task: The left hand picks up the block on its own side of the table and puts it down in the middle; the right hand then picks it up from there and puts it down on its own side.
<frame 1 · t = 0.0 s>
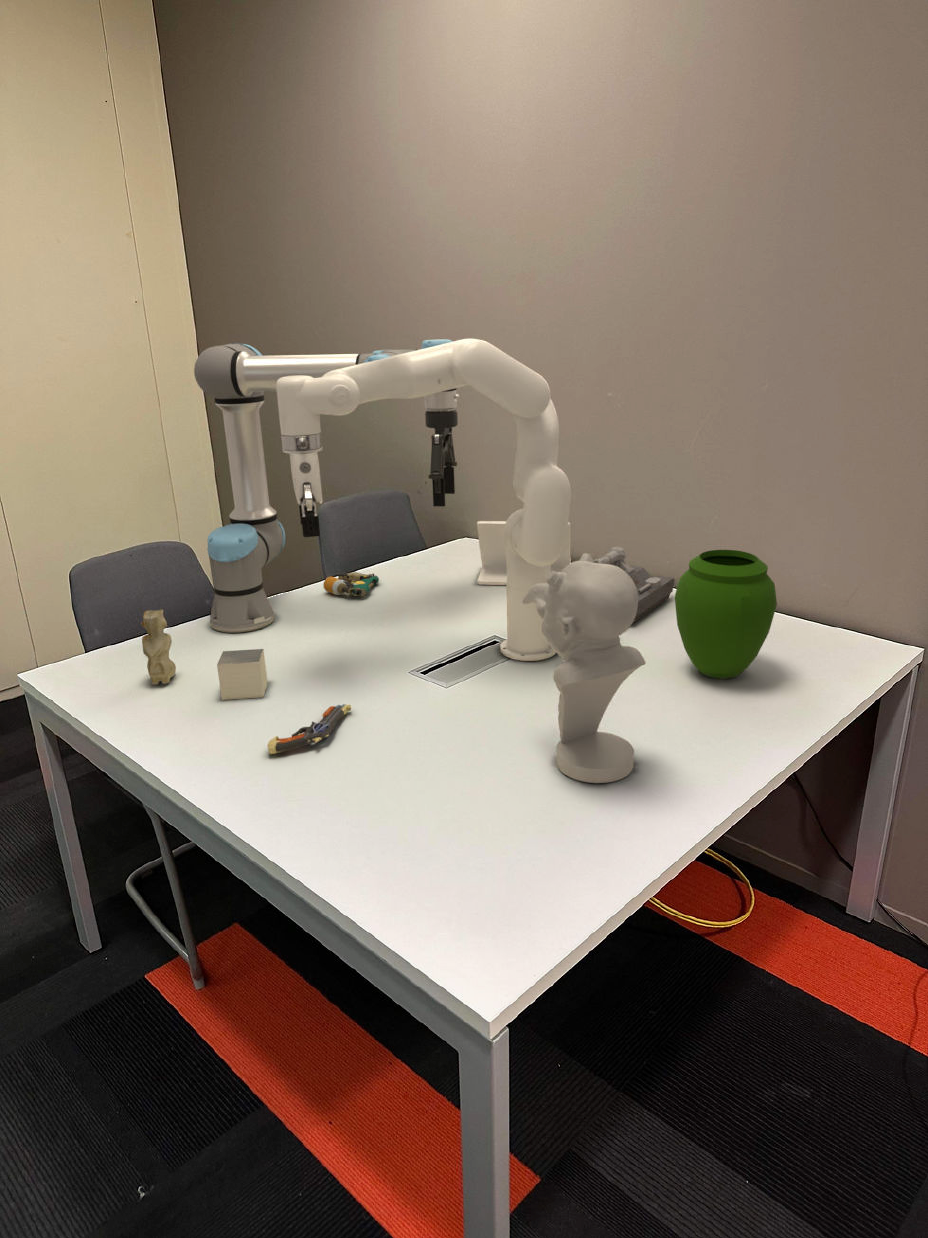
left hand: (444, 499, 205), 28 cm above the table, tool pointing down, fingers open, 13 cm apart
right hand: (310, 530, 169), 31 cm above the table, tool pointing down, fingers open, 9 cm apart
toy: (615, 605, 214), on the table
vase: (718, 672, 175), on the table
toy gun: (311, 733, 155), on the table
sculpture: (163, 680, 179), on the table
spray gun: (354, 589, 232), on the table
block: (245, 691, 173), on the table
tablet stand: (525, 575, 239), on the table
bust sculpture: (574, 758, 144), on the table
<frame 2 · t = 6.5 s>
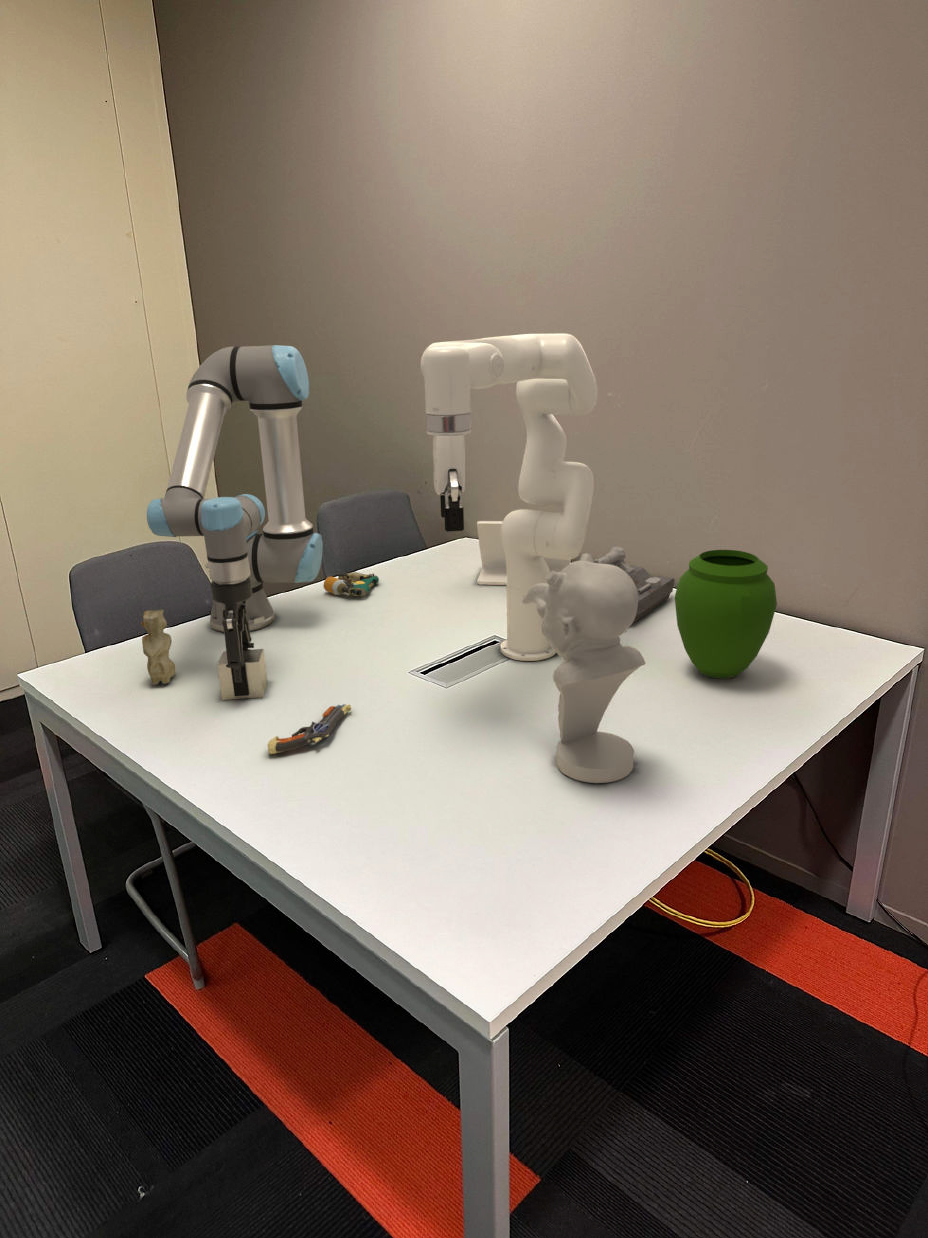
left hand: (244, 686, 172), 1 cm above the table, tool pointing down, fingers closed on block, 7 cm apart
right hand: (452, 523, 149), 37 cm above the table, tool pointing down, fingers open, 9 cm apart
block: (245, 691, 173), on the table, touching left hand
everything else where it was.
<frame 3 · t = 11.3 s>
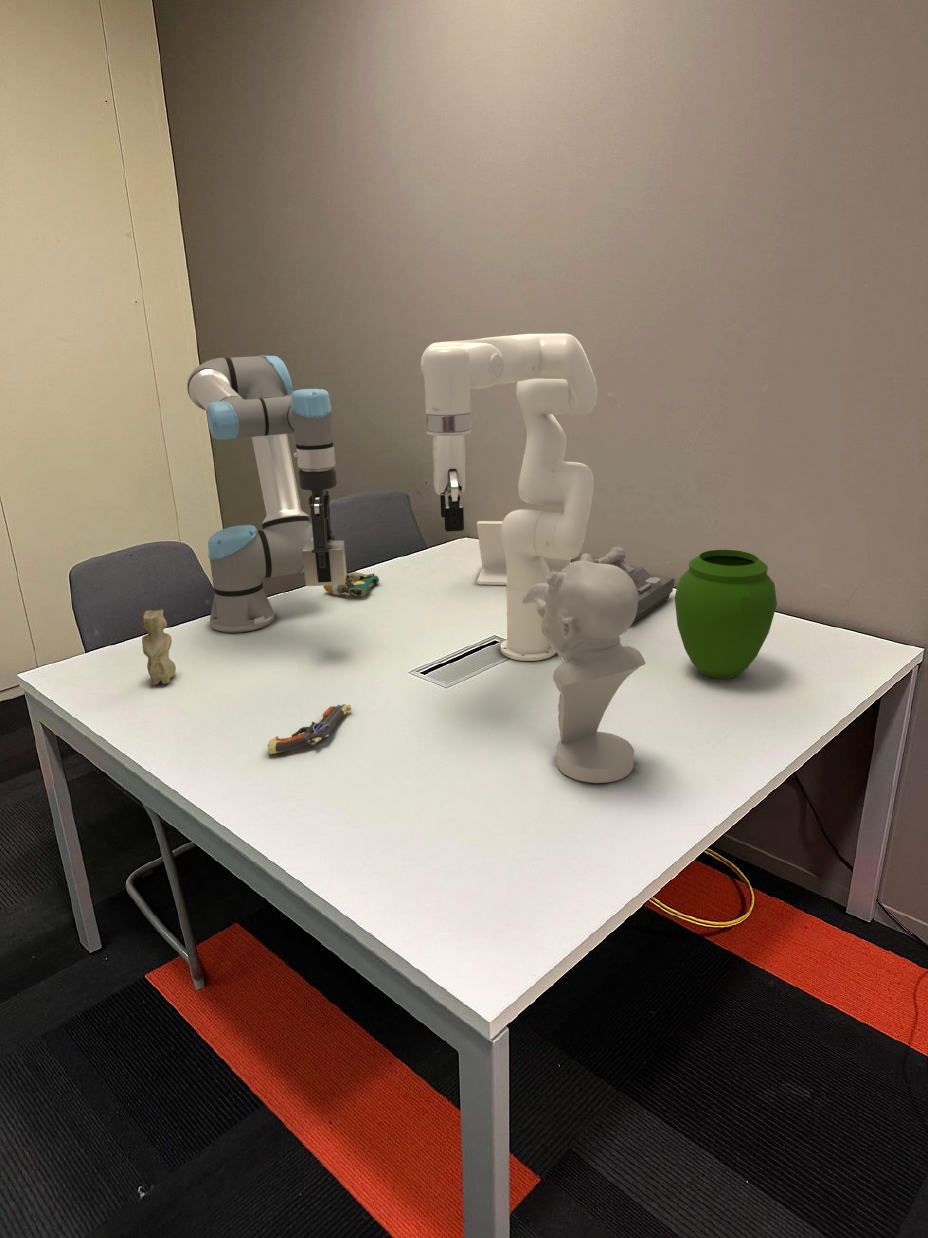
left hand: (326, 575, 181), 19 cm above the table, tool pointing down, fingers closed on block, 7 cm apart
right hand: (452, 523, 149), 37 cm above the table, tool pointing down, fingers open, 9 cm apart
block: (326, 580, 182), point 18 cm above the table, touching left hand
everything else where it was.
when the left hand's fingers open (3 cm above the table, at t = 16.5 s): block drops 1 cm, on the table.
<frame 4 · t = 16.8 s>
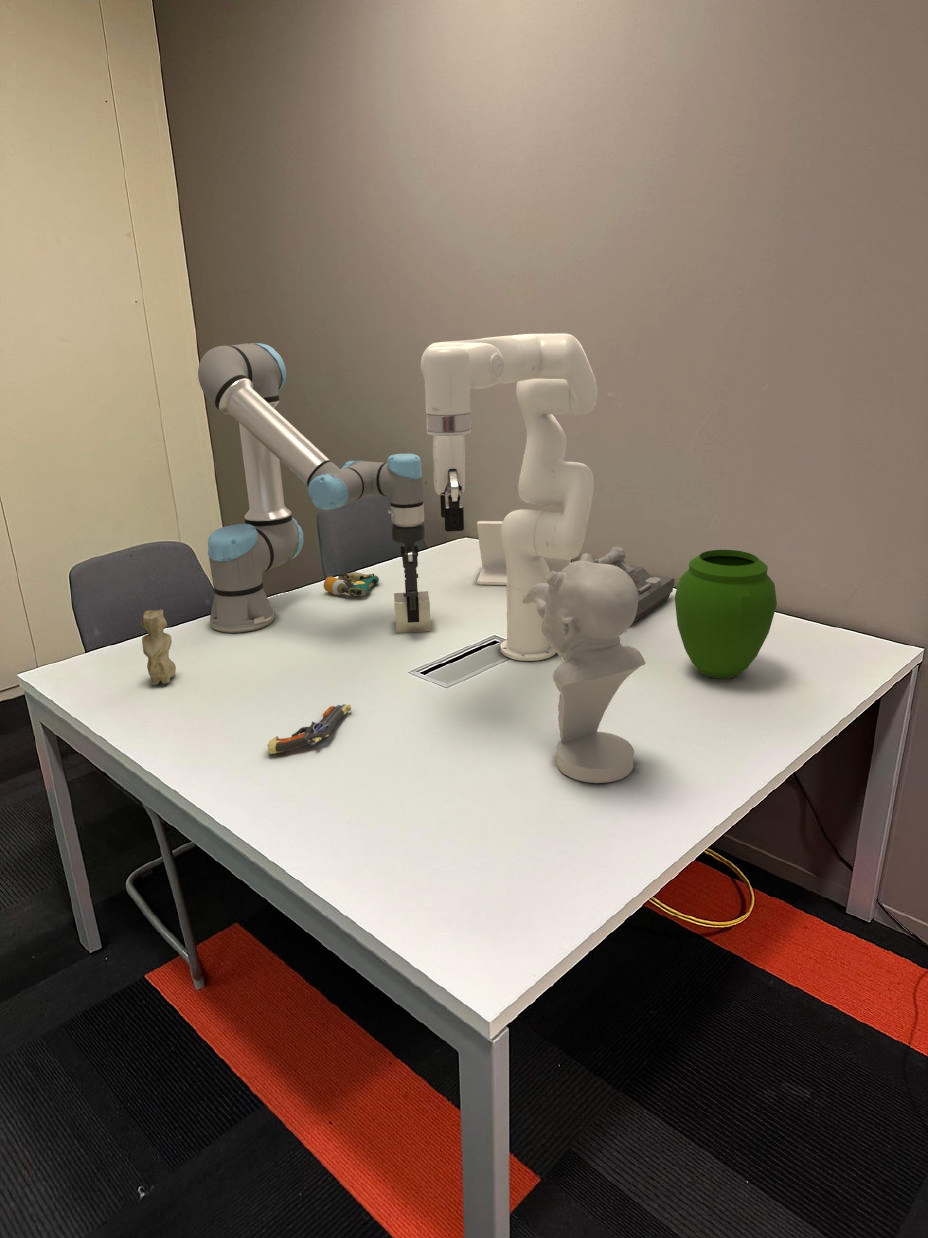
left hand: (412, 613, 203), 4 cm above the table, tool pointing down, fingers open, 11 cm apart
right hand: (452, 523, 149), 37 cm above the table, tool pointing down, fingers open, 9 cm apart
block: (413, 627, 204), on the table
everything else where it was.
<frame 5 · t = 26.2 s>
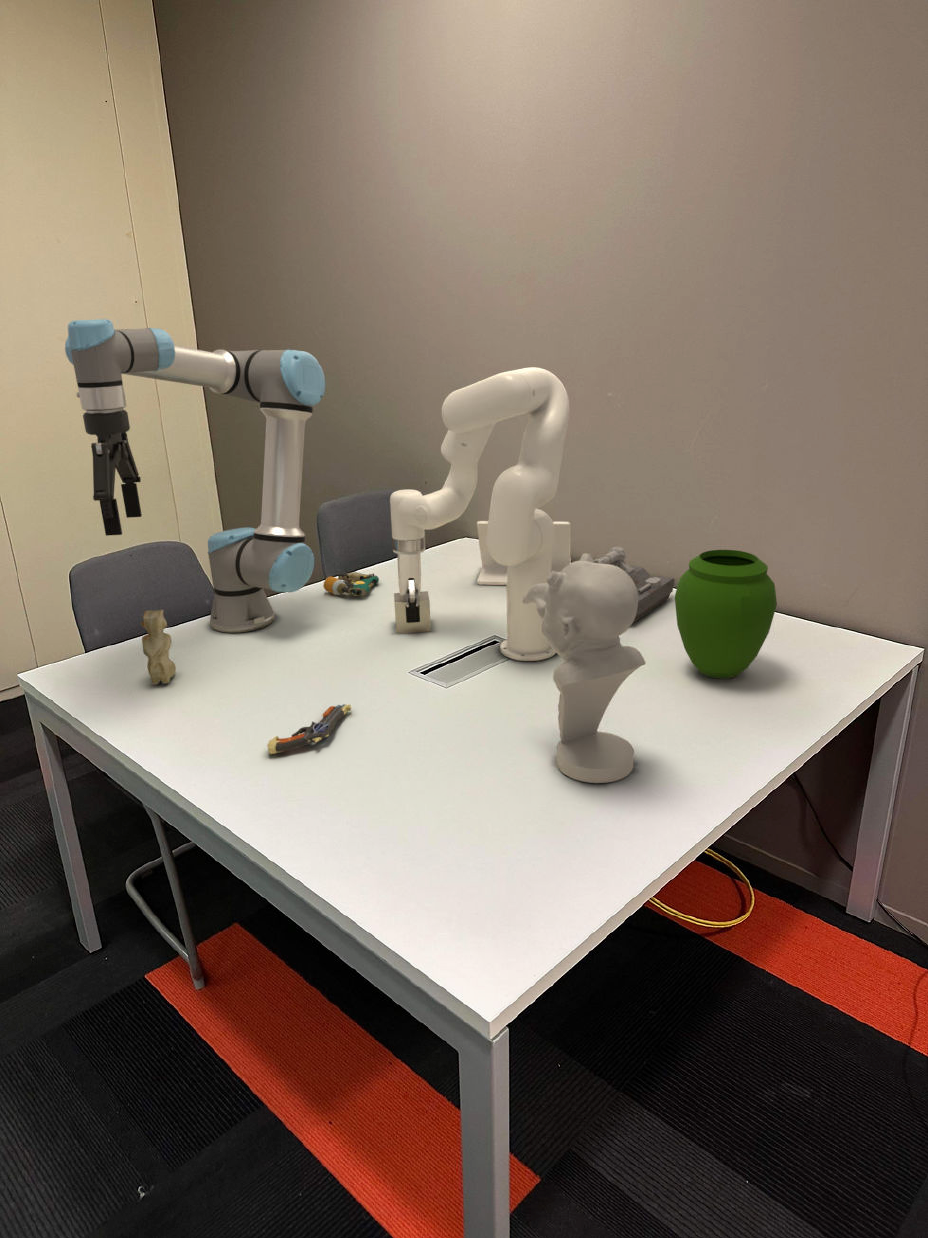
left hand: (124, 525, 161), 35 cm above the table, tool pointing down, fingers open, 13 cm apart
right hand: (412, 615, 203), 3 cm above the table, tool pointing down, fingers closed on block, 6 cm apart
block: (413, 627, 204), on the table, touching right hand
everything else where it was.
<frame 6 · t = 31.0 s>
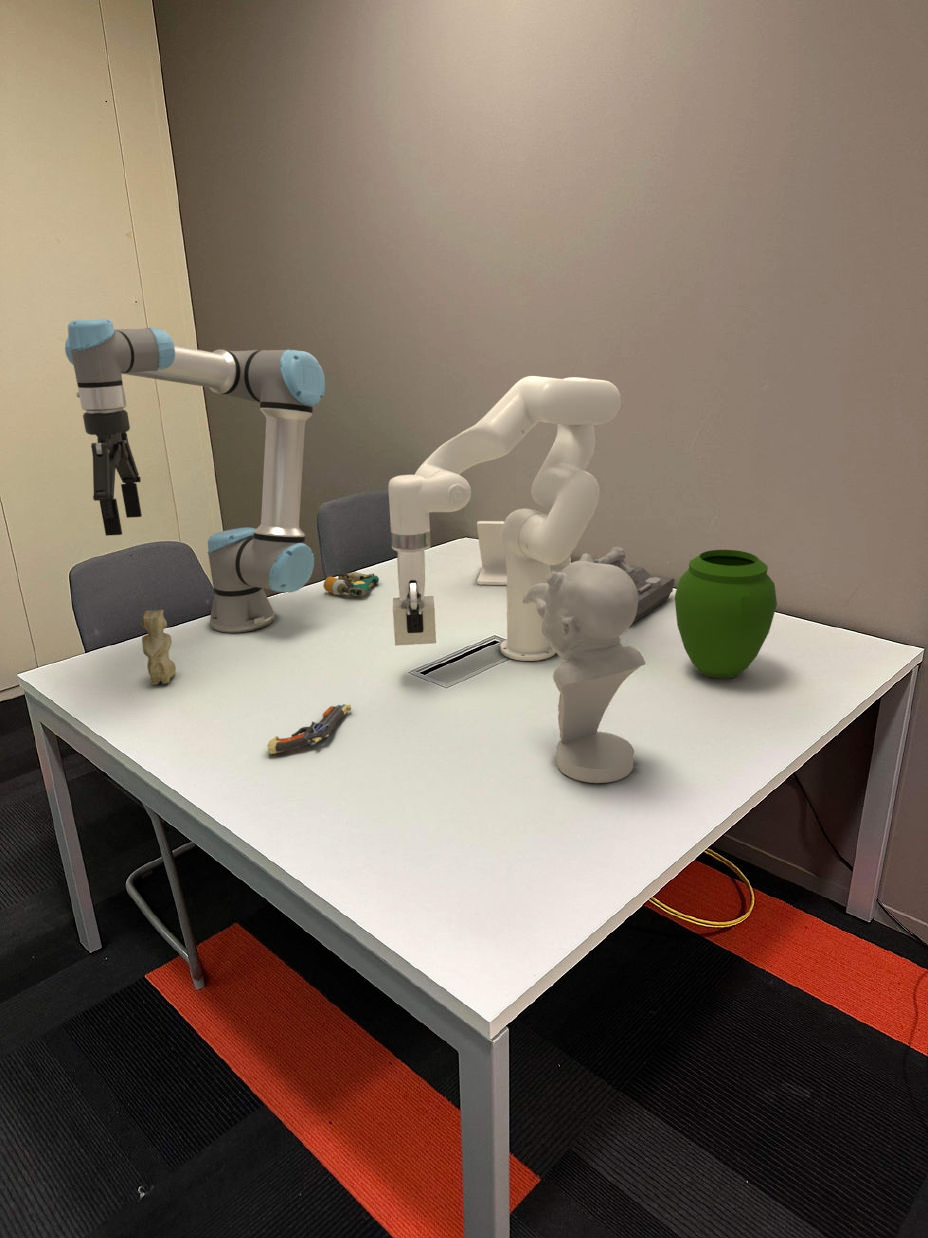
left hand: (124, 525, 161), 35 cm above the table, tool pointing down, fingers open, 13 cm apart
right hand: (415, 624, 172), 12 cm above the table, tool pointing down, fingers closed on block, 6 cm apart
block: (415, 638, 173), point 9 cm above the table, touching right hand
everything else where it was.
when the right hand's fingers open (4 cm above the table, at t = 35.9 s): block drops 1 cm, on the table.
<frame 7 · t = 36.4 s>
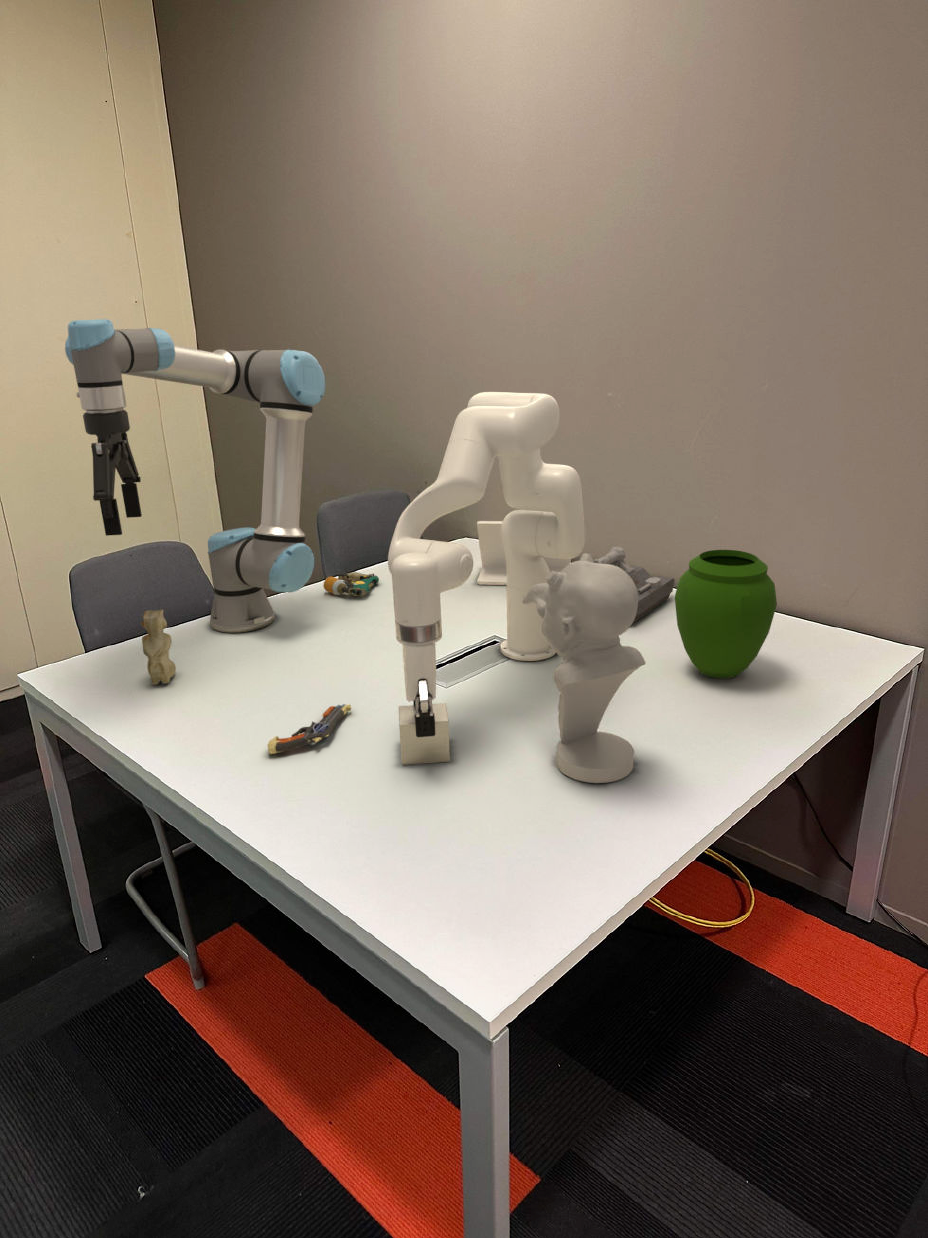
left hand: (124, 525, 161), 35 cm above the table, tool pointing down, fingers open, 13 cm apart
right hand: (424, 721, 145), 6 cm above the table, tool pointing down, fingers open, 9 cm apart
block: (425, 753, 147), on the table
everything else where it was.
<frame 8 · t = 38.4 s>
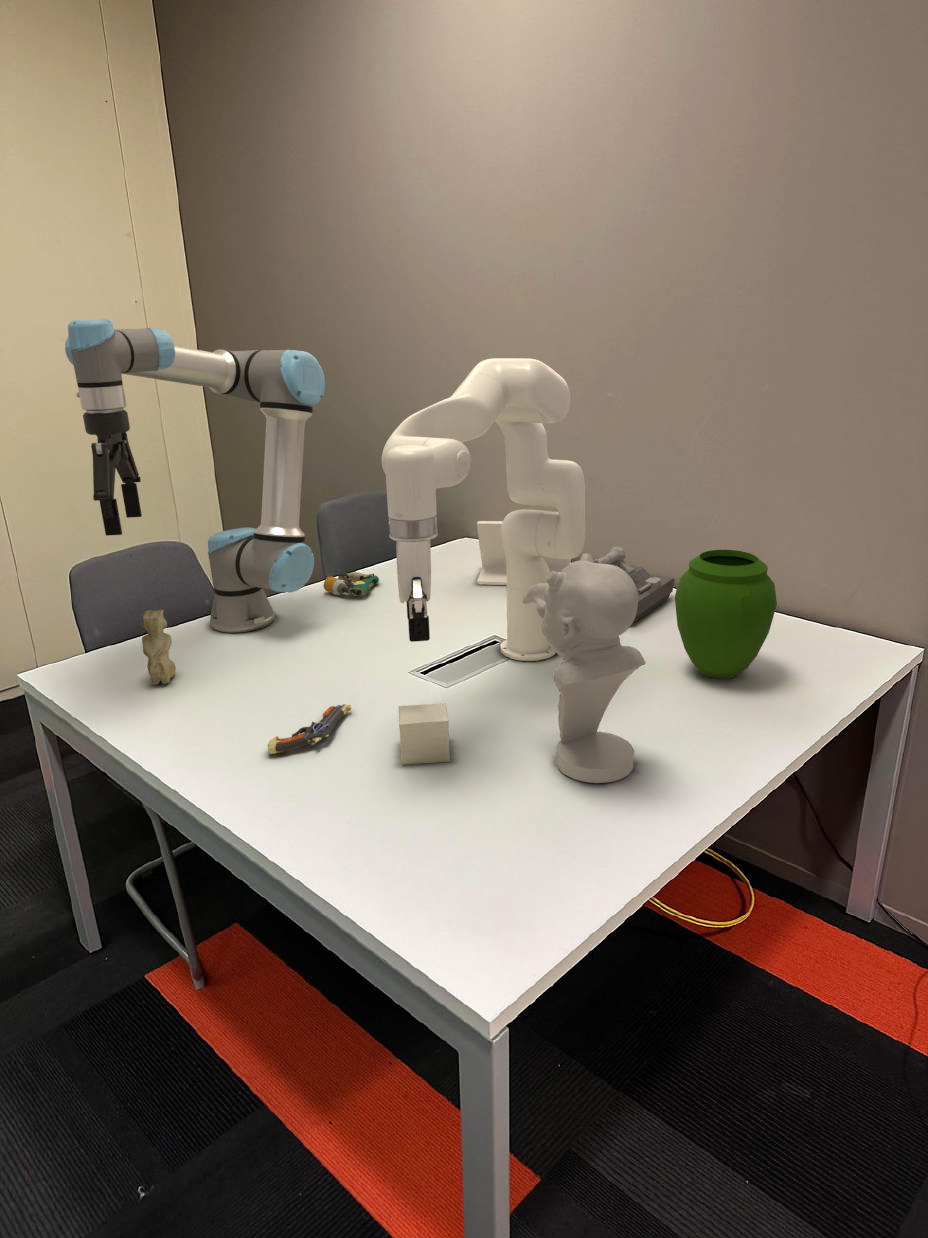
left hand: (124, 525, 161), 35 cm above the table, tool pointing down, fingers open, 13 cm apart
right hand: (418, 629, 139), 23 cm above the table, tool pointing down, fingers open, 9 cm apart
nothing on the table moved.
at the end: block inside the target area (0.4 cm from its centre), on the table; block tilted 0°; the two hands never held the block at the same time; the left hand is holding nothing; the right hand is holding nothing; block at rest at the end (0.0 cm/s) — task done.
